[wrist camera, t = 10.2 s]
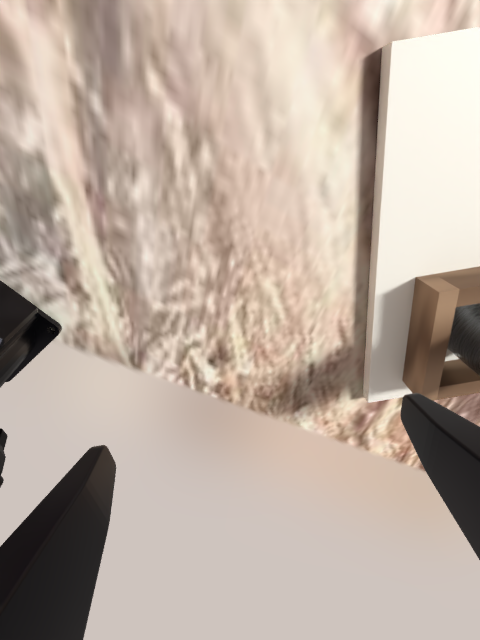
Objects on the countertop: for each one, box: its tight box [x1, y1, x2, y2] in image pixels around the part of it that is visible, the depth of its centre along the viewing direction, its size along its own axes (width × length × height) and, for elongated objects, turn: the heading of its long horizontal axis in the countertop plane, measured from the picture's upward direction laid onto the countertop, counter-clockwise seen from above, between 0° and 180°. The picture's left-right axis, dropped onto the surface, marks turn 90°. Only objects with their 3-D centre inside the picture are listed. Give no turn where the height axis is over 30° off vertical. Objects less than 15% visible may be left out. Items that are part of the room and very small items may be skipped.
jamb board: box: [363, 27, 480, 403], centre depth 21 cm, size 23×14×1 cm, turn 8°
